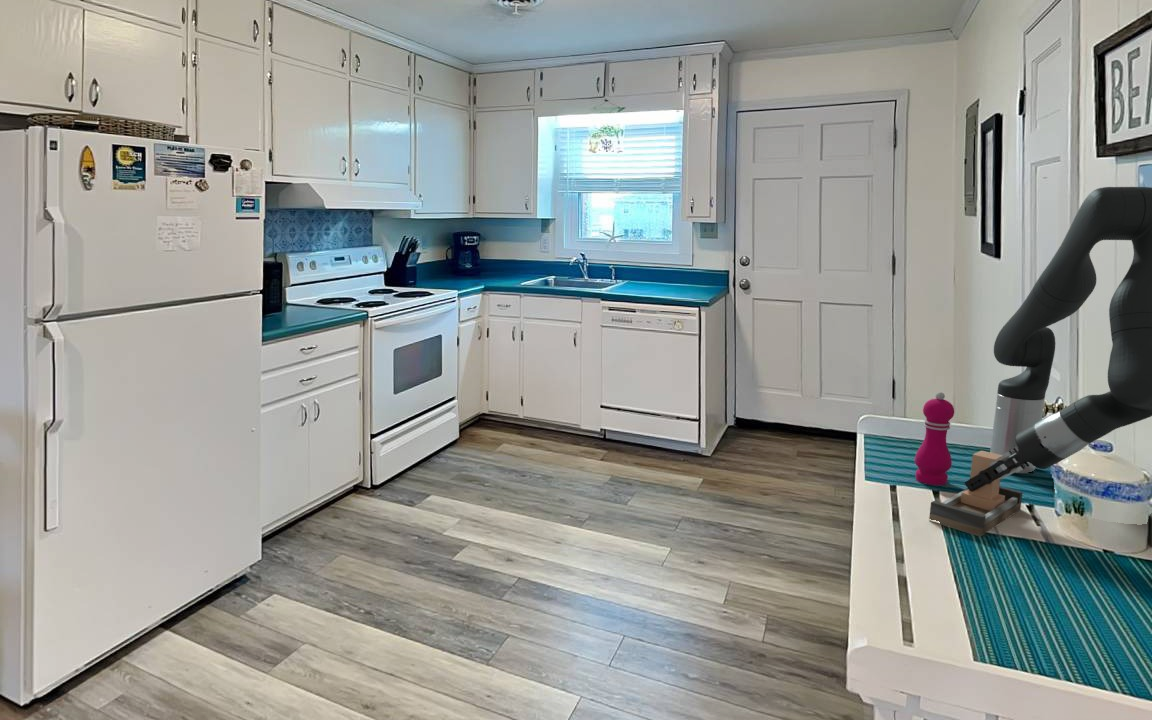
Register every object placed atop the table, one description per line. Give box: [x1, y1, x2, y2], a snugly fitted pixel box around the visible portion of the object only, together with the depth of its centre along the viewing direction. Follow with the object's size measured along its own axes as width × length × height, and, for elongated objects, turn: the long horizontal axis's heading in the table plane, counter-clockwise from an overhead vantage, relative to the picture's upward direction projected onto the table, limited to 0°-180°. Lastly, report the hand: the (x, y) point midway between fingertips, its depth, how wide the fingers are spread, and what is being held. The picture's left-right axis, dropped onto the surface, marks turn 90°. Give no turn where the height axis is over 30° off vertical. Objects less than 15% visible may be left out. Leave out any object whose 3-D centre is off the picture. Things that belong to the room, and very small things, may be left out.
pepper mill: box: [914, 391, 955, 486], centre depth 152 cm, size 7×7×20 cm
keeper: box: [961, 450, 1005, 511], centre depth 135 cm, size 5×6×10 cm
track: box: [928, 485, 1024, 538], centre depth 134 cm, size 20×9×4 cm, turn 130°
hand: (973, 484), depth 137 cm, fingers closed on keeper, 4 cm apart
